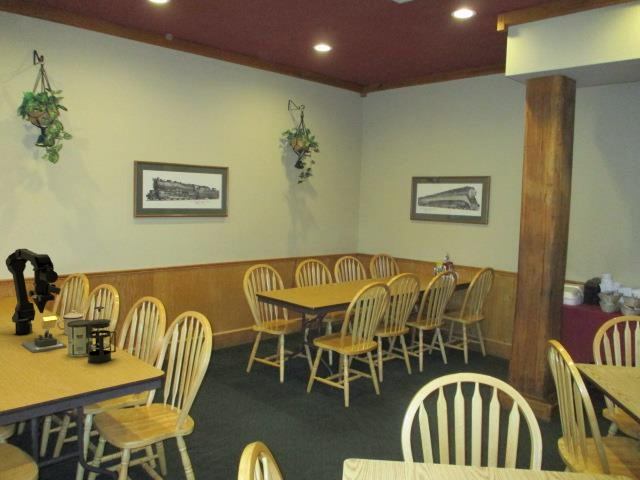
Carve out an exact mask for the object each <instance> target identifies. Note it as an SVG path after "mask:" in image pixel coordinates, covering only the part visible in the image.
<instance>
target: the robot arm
mask: <svg viewBox="0 0 640 480" xmlns="http://www.w3.org/2000/svg"><path fill="white" fill-rule="evenodd" d="M28 262H30V265H31V266H32V267H33V268H32V271H33V272H34V273H33V276H34V277H33V279H34V280H33V283H32V285H33V286H34V287H33V289H32V290H31V289H30V290H29V292H28V290H27V284H26V281H25V275H24V272H25V270H26V268H27V263H28ZM5 266H6V268H7V271H8V272H9V273H10V274H12V275H11V276H12V278H13V279H12V280H13V285H14V290H15V297H16V301H17V304H16V305H15V307H14V313H13V314H12V317H11V322H12V323H14V324H15V332H14V333H13V335H15V336H16V335H17V336H19V335H24V336H25V335H26V336H27V335H28V336H29V334H31V333H33V332H34V331H33V323H32V321H35V318H36V309H35V306H36V307H37V310H38V311H39V313H40V314H43V313H44V311H45V307H46V304H47V302H50V301H55V295H54V294H56V295H57V296H59V295H60V294H61V291H62V288H61V287H57V286H56V284H54V283H56V282H57V281H58V279H59V275H58V273H57V272H56V271H54V269H55V267H54V263H53V262H52V259H51V257H50V256H49V255H48V253H36V252H34V251H33V250H29V249H28V248H17V249H15V251H14V252H12V253H11V254H9V255H8V256H7V258H6V259H5ZM33 296H34V298H32V300H33V302H34V303H33V302H31V301H29V297H30V298H31V297H33ZM34 305H35V306H34Z"/></svg>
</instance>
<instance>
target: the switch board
mask: <svg viewBox="0 0 640 480" xmlns="http://www.w3.org/2000/svg"><path fill="white" fill-rule="evenodd" d="M21 346H22V347H23V348H25V349H27V350H28V351H29V352H31V353H33V354H35V353H43V352H47V351H52V350H59V349H60V350H61V349H66V348H67V344H66V343H64V342H62V341H60V340H58V339H57V338H56V337H54V336H53V333H50V332H49V334H48V337H47V338H45V337H44V336H43V335H42V334H38V337H34V341H25V342H21Z"/></svg>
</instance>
